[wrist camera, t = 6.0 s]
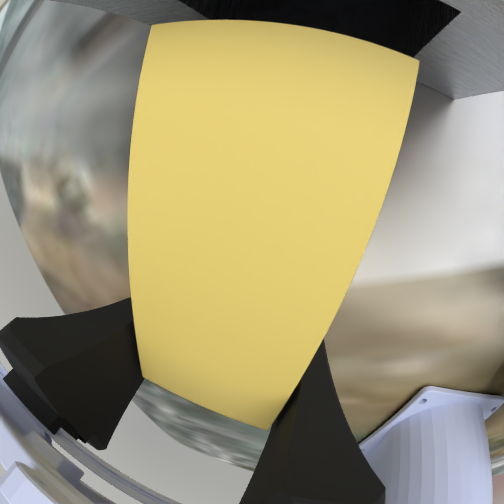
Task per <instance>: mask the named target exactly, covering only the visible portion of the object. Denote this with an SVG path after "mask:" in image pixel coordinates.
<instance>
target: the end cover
mask: <svg viewBox="0 0 504 504" xmlns="http://www.w3.org/2000/svg"><path fill="white" fill-rule="evenodd" d="M419 62H420V61H419V60H417V59H414V58H412V57H410V56H407V55H405V54H402V53H399V52H397V51H394V50H391V49H389V48H386V47H383V46H380V45H377V44H374V43H371V42H368V41H364V40H361V39H358V38H354V37H350V36H346V35H342V34H338V33H334V32H330V31H325V30H320V29H315V28H310V27H304V26H298V25H291V24H283V23H274V22H264V21H249V20H196V21H182V22H171V23H163V24H155V25H152V27H151V31H150V35H149V38H148V43H147V47H146V51H145V56H144V60H143V65H142V70H141V75H140V81H139V86H138V92H137V99H136V105H135V113H134V120H133V129H132V138H131V149H130V162H129V180H128V257H129V274H130V288H131V299H132V309H133V318H134V326H135V333H136V340H137V347H138V353H139V359H140V365H141V370H142V375H143V377H144V378H146V379H148V380H150V381H151V382H153V383H155V384H157V385H159V386H161V387H163V388H165V389H167V390H169V391H171V392H173V393H175V394H177V395H179V396H181V397H183V398H185V399H187V400H189V401H192V402H194V403H196V404H198V405H201V406H203V407H205V408H207V409H210V410H212V411H215V412H217V413H220V414H222V415H225V416H227V417H230V418H232V419H235V420H238V421H240V422H243V423H246V424H249V425H252V426H255V427H258V428H261V429H264V430H267V431H268V429H269V428H270V426H271V425H272V423H273V422H274V420H275V419H276V417H277V416H278V414H279V413H280V411H281V410H282V408H283V407H284V405H285V404H286V402H287V400H288V399H289V397H290V396H291V394H292V392H293V391H294V389H295V387H296V386H297V384H298V382H299V381H300V379H301V377H302V376H303V374H304V372H305V371H306V369H307V367H308V365H309V364H310V362H311V360H312V358H313V357H314V355H315V353H316V351H317V349H318V348H319V346H320V344H321V342H322V340H323V338H324V336H325V334H326V333H327V331H328V329H329V327H330V325H331V323H332V321H333V319H334V317H335V315H336V313H337V311H338V309H339V307H340V305H341V303H342V301H343V298H344V296H345V294H346V292H347V290H348V288H349V286H350V283H351V281H352V279H353V277H354V274H355V272H356V270H357V268H358V265H359V263H360V261H361V258H362V256H363V254H364V251H365V249H366V246H367V244H368V241H369V239H370V236H371V234H372V231H373V229H374V226H375V223H376V221H377V218H378V215H379V213H380V210H381V207H382V204H383V201H384V199H385V196H386V193H387V190H388V187H389V184H390V181H391V178H392V174H393V171H394V168H395V165H396V161H397V158H398V155H399V151H400V148H401V144H402V140H403V137H404V133H405V129H406V125H407V121H408V117H409V113H410V108H411V104H412V99H413V95H414V90H415V85H416V79H417V74H418V68H419Z"/></svg>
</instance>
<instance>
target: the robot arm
mask: <svg viewBox="0 0 504 504" xmlns="http://www.w3.org/2000/svg"><path fill="white" fill-rule="evenodd" d="M0 348H1V350H2V351H3V353H4V355H5V356H6V358H7V359H8V361H9V363H10V364H11V366H12V367H13V369H12V370H11V371H10V372H9V373H8V372H7V371H6V369H5V368H4V367H3V366H2V364H1V363H0V462H1V463H2V465H3V467H4V468H5V469H6V471H5V473H4V474H3V475H2V477H1V478H0V504H116V503H114V502H112V501H110V500H109V499H107V498H106V497H104V496H103V495H101V494H100V493H98V492H97V491H95V490H94V489H92V488H91V487H89V486H88V485H87V484H85V483H84V482H82V481H81V480H80V479H81V477H82V476H83V475H84V472H83V471H82V470H81V469H79V468H78V467H77V466H76V465H75V464H73V463H72V462H71V461H70V460H68V459H67V458H66V457H65V456H63V455H62V454H61V453H60V452H59V451H57V450H56V449H55V448H54V447H53V446H52V444H51V442H52V440H51V438H52V439H53V440H54V441H55V442H56V443H58V444H59V445H60V446H61V447H62V448H63V449H64V450H66V451H67V452H68V453H69V454H70V455H72V456H73V457H74V458H75V459H77V460H78V461H79V462H80V463H82V464H83V465H84V466H86V467H87V468H88V469H90V470H91V471H92V472H94V473H95V474H97V475H98V476H99V477H101V478H102V479H104V480H105V481H107V482H108V483H110V484H111V485H113V486H114V487H116V488H118V489H119V490H121V491H122V492H124V493H126V494H127V495H129V496H131V497H133V498H134V499H136V500H138V501H140V502H142V503H144V504H181V503H179V502H176V501H174V500H172V499H170V498H168V497H165V496H163V495H161V494H159V493H157V492H155V491H153V490H152V489H150V488H148V487H146V486H144V485H142V484H140V483H138V482H137V481H135V480H133V479H132V478H130V477H128V476H127V475H125V474H123V473H122V472H120V471H119V470H117V469H115V468H114V467H112V466H111V465H109V464H108V463H106V462H105V461H103V460H102V459H101V458H99V457H98V456H96V455H95V454H94V453H92V452H91V451H89V450H88V449H87V448H86V447H84V446H83V445H82V444H80V443H79V442H78V441H77V439H80V440H81V441H82V442H84V443H89V444H90V445H92V446H93V447H94V448H96V449H97V450H104V449H106V448H107V446H108V443H109V441H110V439H111V437H112V435H113V433H114V431H115V429H116V427H117V425H118V423H119V421H120V419H121V417H122V415H123V413H124V412H125V410H126V408H127V406H128V405H129V403H130V401H131V400H132V398H133V396H134V395H135V393H136V391H137V390H138V388H139V387H140V385H141V383H142V382H143V380H144V379H145V378H144V377H143V375H142V370H141V365H140V359H139V353H138V347H137V340H136V333H135V326H134V318H133V309H132V299H131V297H130V298H127V299H124V300H122V301H119V302H116V303H114V304H111V305H107V306H104V307H101V308H97V309H93V310H89V311H85V312H79V313H74V314H69V315H62V316H54V317H39V318H20V317H16V318H15V319H13V320H12V321H11V322H10V323H9V324H7V325H6V326H5V327H4V328H3V329H1V330H0ZM503 403H504V397H503V396H497V395H488V394H479V393H472V392H465V391H458V390H452V389H446V388H440V387H435V386H427V387H424V388H423V389H421V390H420V391H419V392H418V393H417V394H416V395H415V396H414V397H413V398H412V399H411V400H410V401H409V402H408V403H407V404H406V405H405V406H404V407H403V408H402V409H401V410H400V411H399V412H398V413H396V414H395V415H394V416H393V417H392V418H391V419H390V420H388V421H387V422H386V423H385V424H384V425H383V426H381V427H380V428H379V429H378V430H377V431H375V432H374V433H373V434H372V435H370V436H369V437H368V438H366V439H365V440H364V441H363V442H361V443H360V444H359V445H358V443H357V441H356V439H355V437H354V435H353V433H352V432H351V429H350V427H349V425H348V422H347V420H346V418H345V415H344V413H343V410H342V408H341V405H340V402H339V399H338V396H337V393H336V390H335V386H334V383H333V379H332V376H331V372H330V367H329V363H328V359H327V354H326V349H325V343H324V338H323V340H322V342H321V344H320V346H319V348H318V349H317V351H316V353H315V355H314V357H313V358H312V360H311V362H310V364H309V365H308V367H307V369H306V371H305V372H304V374H303V376H302V377H301V379H300V381H299V382H298V384H297V386H296V387H295V389H294V391H293V392H292V394H291V396H290V397H289V399H288V400H287V402H286V404H285V405H284V407H283V408H282V410H281V411H280V413H279V414H278V416H277V417H276V419H275V420H274V422H273V424H272V427H271V431H270V434H269V436H268V439H267V442H266V444H265V447H264V449H263V452H262V454H261V457H260V459H259V462H258V464H257V466H256V469H255V471H254V473H253V476H252V478H251V480H250V482H249V484H248V487H247V489H246V491H245V493H244V495H243V497H242V499H241V501H240V503H239V504H493V498H492V497H493V496H492V495H493V494H492V472H491V461H490V453H489V445H488V439H487V433H486V427H485V422H484V421H485V420H486V419H487V418H488V417H489V416H490V415H492V414H493V413H494V412H495V411H496V410H497V409H498V408H499V407H500V406H501V405H502V404H503ZM50 437H51V438H50Z"/></svg>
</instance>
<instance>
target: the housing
mask: <svg viewBox="0 0 504 504" xmlns="http://www.w3.org/2000/svg"><path fill="white" fill-rule="evenodd" d="M51 1H58V2H65V3H71V4H76V5H81V6H86V7H91V8H95V9H99V10H103V11H107V12H111V13H114V14H118V15H121V16H125V17H128V18H131V19H134V20H137V21H140V22H143V23H146V24H149V25H155V24H163V23H171V22H182V21H196V20H249V21H264V22H274V23H283V24H291V25H298V26H304V27H310V28H315V29H320V30H325V31H330V32H334V33H338V34H342V35H346V36H350V37H354V38H358V39H361V40H364V41H368V42H371V43H374V44H377V45H380V46H383V47H386V48H389V49H391V50H394V51H397V52H399V53H402V54H405V55H407V56H410V57H412V58H414V59H417V60H419V61H420V62H419V68H418V74H417V79H416V81H417V82H420V83H422V84H424V85H426V86H428V87H431V88H433V89H435V90H437V91H439V92H441V93H443V94H445V95H447V96H449V97H450V98H452V99H454V100H455V99H460V98H465V97H470V96H475V95H481V94H486V93H492V92H499V91H504V0H51Z"/></svg>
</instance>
